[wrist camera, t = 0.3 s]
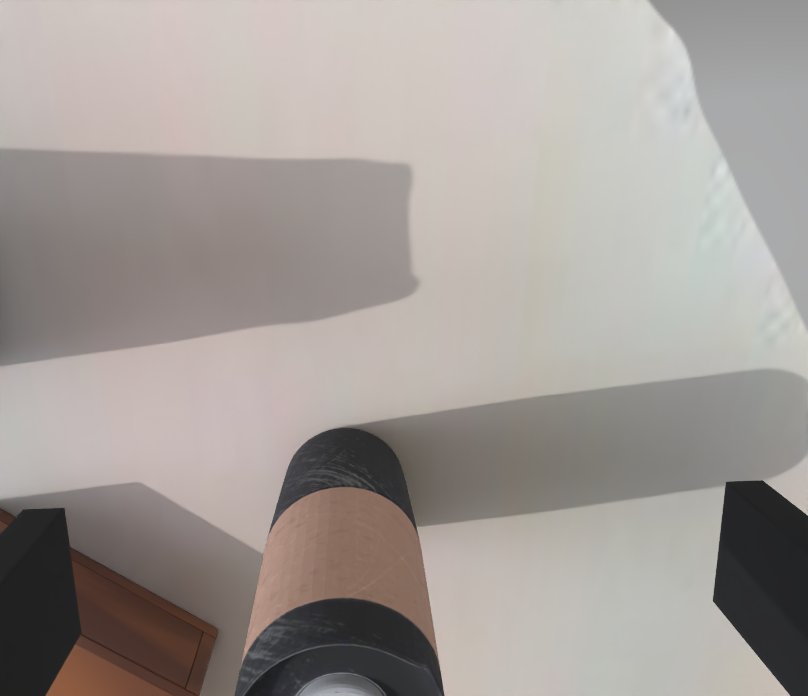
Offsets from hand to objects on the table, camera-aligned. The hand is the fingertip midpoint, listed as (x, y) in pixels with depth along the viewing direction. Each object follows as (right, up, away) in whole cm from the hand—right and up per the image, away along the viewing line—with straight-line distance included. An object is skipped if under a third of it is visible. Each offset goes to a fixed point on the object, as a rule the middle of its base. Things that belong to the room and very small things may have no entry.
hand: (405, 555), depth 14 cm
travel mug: (-4, -4, +30) cm, 30 cm away
